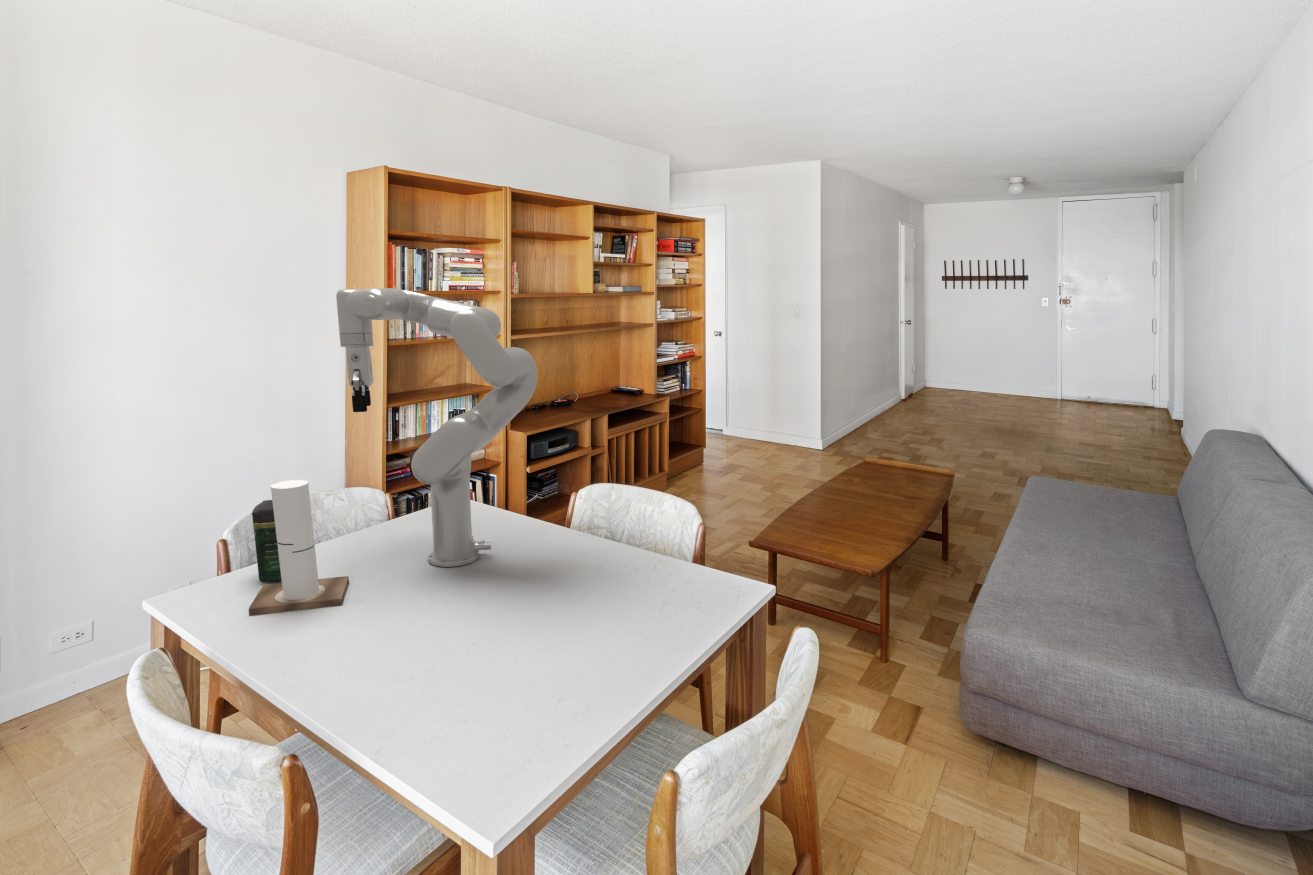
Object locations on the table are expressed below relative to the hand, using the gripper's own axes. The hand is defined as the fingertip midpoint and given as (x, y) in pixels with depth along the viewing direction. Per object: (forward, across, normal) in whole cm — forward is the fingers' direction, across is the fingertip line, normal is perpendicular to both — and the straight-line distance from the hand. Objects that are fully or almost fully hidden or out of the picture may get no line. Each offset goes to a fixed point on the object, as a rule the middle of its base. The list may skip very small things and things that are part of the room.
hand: (362, 408), depth 175 cm
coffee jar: (+38, -10, +21) cm, 45 cm away
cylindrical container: (+37, -26, +13) cm, 47 cm away
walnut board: (+38, -25, +13) cm, 48 cm away
